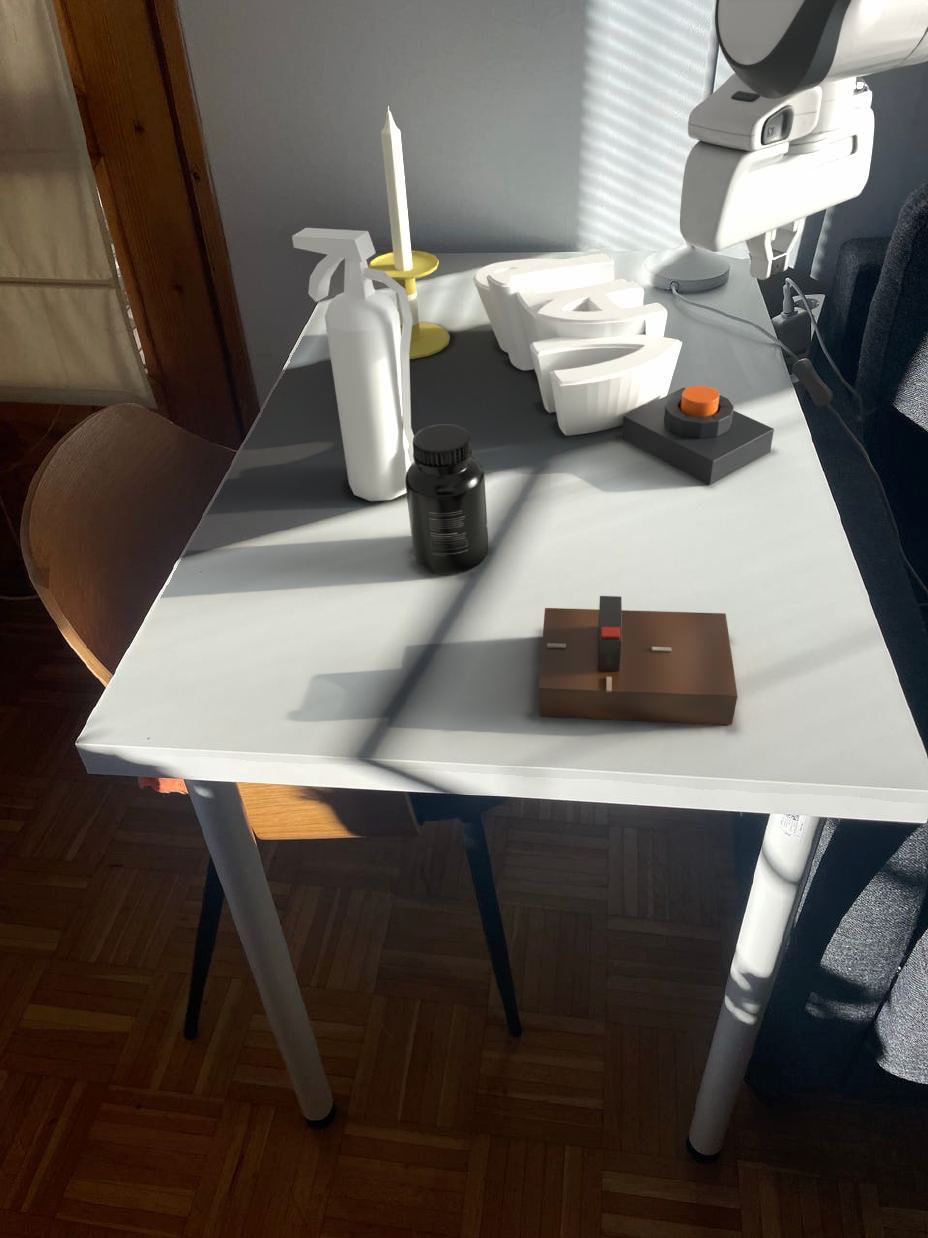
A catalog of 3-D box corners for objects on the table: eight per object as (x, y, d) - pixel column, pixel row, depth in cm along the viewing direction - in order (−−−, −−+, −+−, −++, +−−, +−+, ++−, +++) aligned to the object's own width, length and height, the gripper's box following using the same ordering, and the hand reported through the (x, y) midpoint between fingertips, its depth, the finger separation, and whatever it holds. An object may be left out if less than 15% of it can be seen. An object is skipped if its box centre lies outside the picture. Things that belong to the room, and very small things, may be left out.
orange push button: (725, 409, 96) (727, 394, 94) (700, 422, 94) (702, 406, 93) (697, 397, 98) (699, 381, 97) (673, 409, 96) (674, 393, 95)
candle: (372, 362, 117) (341, 121, 99) (370, 328, 125) (341, 98, 107) (453, 354, 117) (437, 113, 100) (446, 321, 125) (430, 90, 107)
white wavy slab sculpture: (697, 439, 99) (708, 343, 92) (544, 465, 97) (544, 368, 90) (591, 308, 125) (594, 226, 118) (468, 326, 123) (464, 243, 116)
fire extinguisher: (420, 520, 91) (393, 257, 75) (320, 488, 96) (275, 235, 80) (457, 485, 95) (440, 229, 79) (360, 456, 100) (325, 210, 84)
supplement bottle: (502, 544, 87) (498, 428, 80) (463, 586, 83) (454, 467, 75) (440, 524, 90) (430, 410, 83) (398, 563, 86) (384, 447, 78)
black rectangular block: (598, 625, 74) (600, 593, 72) (619, 626, 74) (621, 593, 71) (597, 670, 70) (599, 637, 68) (619, 671, 70) (622, 638, 68)
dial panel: (721, 640, 76) (725, 610, 74) (732, 726, 69) (738, 695, 67) (544, 634, 78) (544, 605, 76) (539, 717, 71) (538, 687, 69)
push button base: (770, 452, 97) (777, 412, 94) (709, 485, 93) (715, 444, 90) (681, 409, 104) (685, 371, 101) (621, 438, 100) (624, 399, 97)
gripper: (840, 68, 81) (813, 234, 90) (673, 118, 72) (660, 297, 81) (907, 77, 77) (871, 250, 86) (738, 132, 68) (718, 318, 77)
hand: (768, 273), depth 84 cm, fingers closed
